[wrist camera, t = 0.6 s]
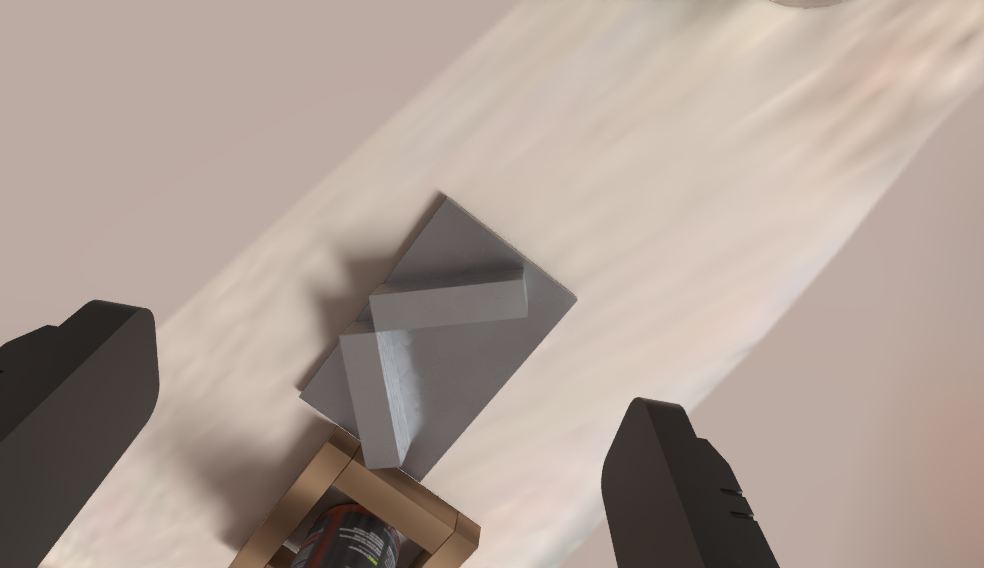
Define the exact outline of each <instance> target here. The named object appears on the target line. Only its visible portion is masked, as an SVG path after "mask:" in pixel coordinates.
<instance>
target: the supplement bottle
mask: <svg viewBox="0 0 984 568" xmlns="http://www.w3.org/2000/svg"><path fill="white" fill-rule="evenodd" d="M399 552H400V543H399V537H398V534H397V532H396V530H395V528H394V527H392V526H391V525H389V524H388V523H386V522H385V521H383V520H382V519H381V518H379V517H378V516H376V515H375V514H373V513H372V512H371V511H369V510H368V509H366V508H365V507H363V506H362V505H357V504H346V505H340V506H336V507H333V508H331V509H329V510H328V511H326V512H325V513H323V514H322V515H321V516H320V517H319V518H318V519H317V521H316V522H315V524H314V525H313V527H312V528H311V530H310V531H309V533H308V535H307V537H306V538H305V540H304V542H303V544H302V546H301V548H300V550H299V552H298V553H297V555H296V557H295V559H294V561H293V563H292V564H291V566H290V568H396V566H397V561H398V557H399Z"/></svg>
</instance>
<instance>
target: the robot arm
mask: <svg viewBox="0 0 984 568" xmlns="http://www.w3.org/2000/svg"><path fill="white" fill-rule="evenodd" d="M771 1H774V2H776V3H779V4H781V5H784V6H789V7H797V8H805V9H807V8H817V7H827V6H830V5H833V4H837V3H840V2H843V1H846V0H771ZM158 394H159V371H158V358H157V345H156V332H155V321H154V316H153V314H152V312H151V311H150V310H149V309H147V308H142V307H136V306H130V305H125V304H119V303H113V302H107V301H102V300H92V301H90V302H88V303H87V304H85V305H84V306H83V307H82V308H80V309H79V310H78V311H77V312H76V313H74V314H73V315H72V316H71V317H70V318H68V319H67V320H66V321H65V322H64V323H62V324H61V325H60V326H59V327H57V326H51V325H46V326H44V327H41V328H39V329H37V330H34V331H32V332H30V333H27V334H25V335H23V336H21V337H18V338H16V339H13V340H11V341H9V342H7V343H5V344H4V345H3V346H1V347H0V568H37V567H38V566H39V564H40V563H41V562H42V560H43V559H44V558H45V556H46V555H47V554H48V552H49V551H50V550H51V548H52V547H53V546H54V545H55V543H56V542H57V541H58V539H59V538H60V537H61V535H62V534H63V533H64V531H65V530H66V529H67V527H68V526H69V525H70V523H71V522H72V521H73V519H74V518H75V517H76V516H77V514H78V513H79V512H80V510H81V509H82V508H83V506H84V505H85V504H86V502H87V501H88V500H89V498H90V497H91V496H92V494H93V493H94V492H95V490H96V489H97V488H98V487H99V485H100V484H101V483H102V481H103V480H104V479H105V477H106V476H107V475H108V473H109V472H110V471H111V469H112V468H113V467H114V465H115V464H116V463H117V461H118V460H119V459H120V458H121V456H122V455H123V454H124V452H125V451H126V450H127V448H128V447H129V446H130V444H131V443H132V442H133V440H134V439H135V438H136V436H137V435H138V434H139V432H140V431H141V430H142V429H143V427H144V426H145V425H146V423H147V422H148V420H149V418H150V417H151V415H152V413H153V410H154V408H155V405H156V402H157V398H158ZM601 489H602V497H603V501H604V506H605V511H606V515H607V520H608V524H609V529H610V533H611V538H612V543H613V547H614V552H615V556H616V561H617V565H618V568H780V567H779V565H778V563H777V561H776V559H775V557H774V555H773V553H772V551H771V549H770V547H769V545H768V543H767V541H766V539H765V537H764V535H763V532H762V530H761V528H760V526H759V525H758V522H757V521H754V520H753V516H754V514H753V512H752V510H751V508H750V506H749V504H748V502H747V500H746V498H745V497H742V490H741V488H740V486H739V484H738V482H737V480H736V477H735V476H734V473H733V471H732V469H731V467H730V465H729V464H728V463H727V462H726V460H725V459H724V458H723V457H722V456H721V455H720V454H719V453H718V452H717V450H716V449H715V448H714V447H713V446H712V445H711V444H710V443H709V442H708V440H707V439H702V438H697V437H696V434H695V432H694V430H693V428H692V425H691V423H690V421H689V419H688V416H687V414H686V412H685V410H684V408H683V407H682V406H681V405H679V404H674V403H668V402H663V401H657V400H652V399H646V398H640V397H637V398H635V399H634V400H633V401H632V402H631V403H630V405H629V407H628V409H627V411H626V414H625V416H624V418H623V420H622V423H621V425H620V427H619V429H618V431H617V434H616V436H615V438H614V440H613V443H612V445H611V447H610V449H609V451H608V454H607V456H606V458H605V461H604V465H603V470H602V478H601Z"/></svg>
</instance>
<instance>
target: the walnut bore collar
mask: <svg viewBox="0 0 984 568" xmlns="http://www.w3.org/2000/svg"><path fill="white" fill-rule="evenodd" d="M360 443H361V442H360V441H358V440H357V439H355V438H354V437H352V436H351V435H350V434H348V433H347V432H345V431H344V430H343V429H341V428H340V427H338V426H337V428H336V429H335V430H334V432H333V433H332V434H331V435H330V437H329V438H328V439H327V440H326V442H325V443H324V444H323V446H322V447H321V448H320V449H319V451H318V452H317V453H316V455H315V456H314V457H313V458H312V460H311V461H310V462H309V463H308V465H307V466H306V467H305V469H304V470H303V471H302V472H301V474H300V475H299V476H298V478H297V479H296V480H295V481H294V483H293V484H292V485H291V486H290V488H289V489H288V490H287V492H286V493H285V494H284V495H283V497H282V498H281V499H280V501H279V502H278V503H277V504H276V506H275V507H274V508H273V509H272V511H271V512H270V513H269V515H268V516H267V517H266V518H265V520H264V521H263V522H262V524H261V525H260V526H259V527H258V529H257V530H256V531H255V532H254V534H253V535H252V536H251V538H250V539H249V540H248V541H247V543H246V544H245V545H244V547H243V548H242V549H241V550H240V552H239V553H238V555H237V556H236V557H235V559H234V560H233V562H232V563H231V564H230V566H229V567H228V568H290V566H291V564H292V563H293V561H294V559H295V557H296V554H295V553H293V552H292V551H290V550H289V549H287V548H286V547H284V546H283V545H282V544H283V543H284V542H285V541H286V539H287V538H288V537H289V536H290V534H291V533H292V532H293V531H294V530H295V528H296V527H297V526H298V525H299V523H300V522H301V521H302V520H303V518H304V517H305V516H306V515H307V513H308V512H309V511H310V510H311V508H312V507H313V506H314V505H315V504H316V502H317V501H318V500H319V499H320V497H321V496H322V495H323V494H324V492H325V491H326V490H327V489H328V487H329V486H330V485H331V484H332V483H333V484H332V485H333V486H335V487H336V488H337V489H339V490H340V491H342V492H343V493H345V494H346V495H347V496H349V497H350V498H352V499H353V500H355V501H356V502H358V503H359V504H360V505H362V506H363V507H365V508H366V509H368V510H369V511H371V512H372V513H373V514H375V515H376V516H378V517H379V518H381V519H382V520H383V521H385V522H386V523H388V524H389V525H391V526H392V527H394V528H395V529H396V530H398V531H399V532H401V533H402V534H404V535H405V536H407V537H408V538H409V539H411V540H412V541H414V542H415V543H417V544H418V545H419V546H421V547H422V548H424V549H425V550H424V551H423V552H422V553H421V554H420V555H419V556H418V557H417V559H416V560H415V561H414V562H413V563H412V564H411V565H410V566H409V567H408V568H459V567H460V566H461V565H462V564H463V563H464V562H465V561H466V560H467V559H468V558H469V557H470V556H471V555H472V553H473V552H474V551H475V550H476V549H477V548H478V545H479V537H480V530H481V527H480V526H478V525H477V524H475V523H474V522H472V521H471V520H470V519H468V518H467V517H465V516H464V515H463V514H461V513H460V512H458V511H457V510H456V509H454V508H453V507H451V506H450V505H448V504H447V503H446V502H444V501H443V500H441V499H440V498H439V497H437V496H436V495H434V494H433V493H432V492H430V491H429V490H427V489H426V488H424V487H423V486H422V485H420V484H419V483H417V482H416V481H415V480H413V479H412V478H410V477H409V476H408V475H406V474H405V473H403V472H402V471H400V470H399V469H398V468H396V467H393V468H380V469H366V465H365V460H364V455H363V450H362V446H361V445H360ZM359 445H360V446H359ZM333 481H334V482H333Z"/></svg>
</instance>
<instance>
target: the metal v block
mask: <svg viewBox="0 0 984 568" xmlns="http://www.w3.org/2000/svg"><path fill="white" fill-rule="evenodd" d="M369 301H370V302H369V303H368V305H367V306H366V307H365V309H364V310H363V311H362V313H361V314H360V315H359V317H358V318H357V319H356V321H353V322H352V323H351V324H350V325H349V326H348V327H347V328H346V329H345V330H344V331H343V332H342V333H341V334H340V335H339V340H340V342H339V343H338V345H337V346H336V347H335V349H334V350H333V352H332V353H331V354H330V356H329V357H328V358H327V360H326V361H325V362H324V364H323V365H322V366H321V368H320V369H319V370H318V372H317V373H316V374H315V376H314V377H313V378H312V380H311V381H310V382H309V384H308V385H307V386H306V388H305V389H304V390H303V392H302V393H301V395H300V396H299V397H300V398H301V399H302V400H304V401H305V402H307V403H308V404H310V405H311V406H312V407H314V408H315V409H317V410H318V411H319V412H321V413H322V414H324V415H325V416H326V417H328V418H329V419H331V420H332V421H333V422H335V423H336V424H338V425H339V426H341V427H342V428H343V429H345V430H346V431H348V432H349V433H350V434H352V435H353V436H355V437H356V438H357V439H359V440H360V441H361V446H362V450H363V455H364V460H365V465H366V469H380V468H393V467H398V468H400V469H401V470H403V471H404V472H405V473H407V474H408V475H410V476H411V477H413V478H414V479H415V480H417V481H418V482H420V481H421V480H422V479H423V478H424V477H425V476H426V475H427V473H428V472H429V471H430V470H431V469H432V468H433V466H434V465H435V464H436V463H437V462H438V461H439V460H440V458H441V457H442V456H443V455H444V454H445V453H446V451H447V450H448V449H449V448H450V447H451V446H452V445H453V443H454V442H455V441H456V440H457V439H458V438H459V436H460V435H461V434H462V433H463V432H464V431H465V430H466V428H467V427H468V426H469V425H470V424H471V423H472V421H473V420H474V419H475V418H476V417H477V416H478V414H479V413H480V412H481V411H482V410H483V409H484V408H485V406H486V405H487V404H488V403H489V402H490V401H491V399H492V398H493V397H494V396H495V395H496V394H497V393H498V391H499V390H500V389H501V388H502V387H503V386H504V384H505V383H506V382H507V381H508V380H509V379H510V378H511V376H512V375H513V374H514V373H515V372H516V371H517V369H518V368H519V367H520V366H521V365H522V364H523V363H524V361H525V360H526V359H527V358H528V357H529V356H530V354H531V353H532V352H533V351H534V350H535V349H536V348H537V346H538V345H539V344H540V343H541V342H542V341H543V339H544V338H545V337H546V336H547V335H548V334H549V332H550V331H551V330H552V329H553V328H554V327H555V326H556V324H557V323H558V322H559V321H560V320H561V319H562V317H563V316H564V315H565V314H566V313H567V312H568V311H569V309H570V308H571V307H572V306H573V305H574V304H575V302H576V301H577V297H576V296H575V295H573V294H572V293H571V292H570V291H568V290H567V289H566V288H564V287H563V286H562V285H561V284H559V283H558V282H557V281H555V280H554V279H553V278H552V277H550V276H549V275H548V274H546V273H545V272H544V271H543V270H541V269H540V268H539V267H537V266H536V265H535V264H534V263H532V262H531V261H530V260H528V259H527V258H526V257H525V256H523V255H522V254H521V253H519V252H518V251H517V250H516V249H514V248H513V247H512V246H511V245H509V244H508V243H507V242H505V241H504V240H503V239H502V238H500V237H499V236H498V235H496V234H495V233H494V232H493V231H491V230H490V229H489V228H487V227H486V226H485V225H484V224H482V223H481V222H480V221H478V220H477V219H476V218H475V217H473V216H472V215H471V214H469V213H468V212H467V211H466V210H464V209H463V208H462V207H460V206H459V205H458V204H457V203H455V202H454V201H453V200H451V199H450V198H449V197H448V198H446V200H445V201H444V202H443V204H442V205H441V206H440V208H439V209H438V210H437V212H436V213H435V215H434V216H433V217H432V219H431V220H430V221H429V223H428V224H427V225H426V227H425V228H424V229H423V231H422V232H421V233H420V235H419V236H418V237H417V239H416V240H415V241H414V243H413V244H412V245H411V247H410V248H409V249H408V251H407V252H406V253H405V255H404V256H403V257H402V259H401V260H400V262H399V263H398V264H397V266H396V267H395V268H394V270H393V271H392V272H391V274H390V275H389V276H388V278H387V279H386V280H385V282H384V283H382V284H380V285H379V286H378V287H377V288H376V289H375V290H374V291H373V292H372V293H371V294H370V295H369Z"/></svg>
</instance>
